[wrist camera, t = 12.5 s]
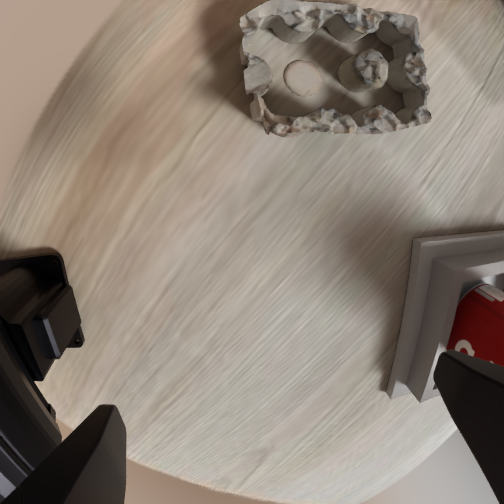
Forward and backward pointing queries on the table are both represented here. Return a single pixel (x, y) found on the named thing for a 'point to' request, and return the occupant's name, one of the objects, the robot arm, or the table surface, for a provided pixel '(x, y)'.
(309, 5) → the egg carton
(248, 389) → the table surface
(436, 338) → the square gray tray
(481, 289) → the soda can
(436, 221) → the table surface
